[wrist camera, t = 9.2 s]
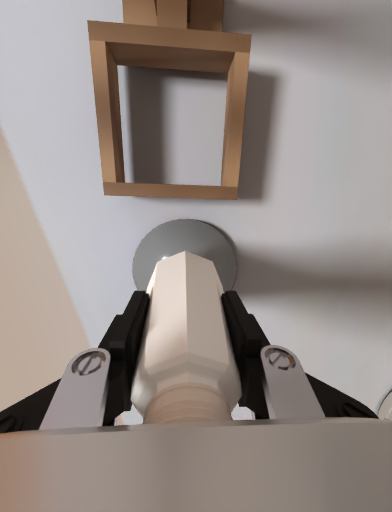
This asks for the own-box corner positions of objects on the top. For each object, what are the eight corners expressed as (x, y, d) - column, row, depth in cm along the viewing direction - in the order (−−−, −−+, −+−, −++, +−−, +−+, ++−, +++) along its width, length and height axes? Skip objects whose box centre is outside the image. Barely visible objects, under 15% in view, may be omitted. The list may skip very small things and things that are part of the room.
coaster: (231, 314, 19) (232, 317, 19) (136, 314, 19) (135, 317, 18) (240, 220, 17) (241, 221, 16) (130, 217, 16) (129, 218, 16)
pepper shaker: (224, 249, 14) (349, 419, 3) (220, 317, 15) (297, 574, 5) (145, 250, 14) (15, 438, 3) (149, 318, 15) (72, 598, 5)
